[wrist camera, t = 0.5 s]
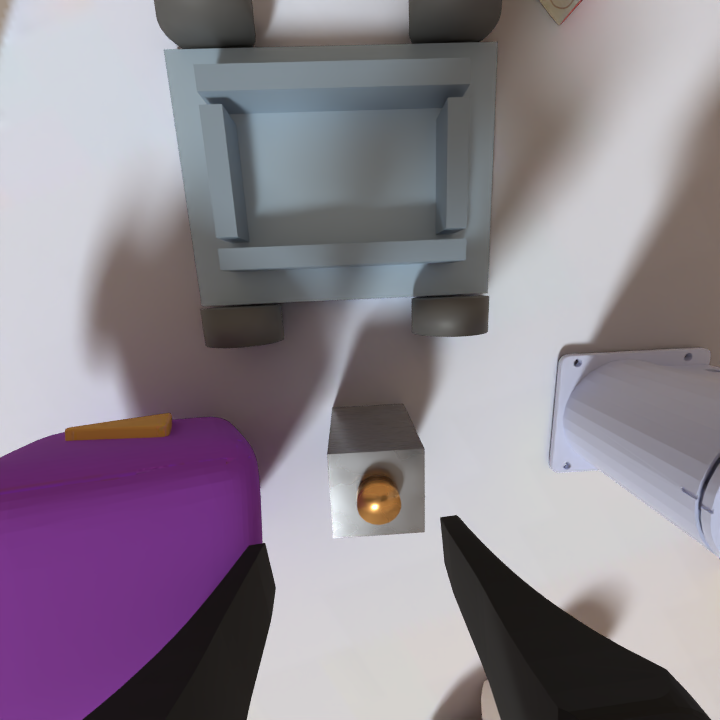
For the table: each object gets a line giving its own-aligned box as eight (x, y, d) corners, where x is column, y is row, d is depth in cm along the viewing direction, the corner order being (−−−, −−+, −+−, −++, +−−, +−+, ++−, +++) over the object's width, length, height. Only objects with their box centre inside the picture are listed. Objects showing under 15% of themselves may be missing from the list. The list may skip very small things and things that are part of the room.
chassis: (490, 11, 17) (534, -73, 13) (479, 324, 20) (511, 333, 16) (167, 17, 16) (111, -68, 12) (213, 337, 20) (181, 350, 16)
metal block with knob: (402, 403, 21) (428, 457, 15) (403, 466, 22) (428, 544, 16) (332, 407, 21) (326, 463, 14) (336, 471, 22) (332, 551, 15)
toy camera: (-108, 464, 14) (-565, 612, 6) (221, 383, 21) (249, 393, 12) (-32, 684, 15) (-321, 1109, 7) (261, 542, 22) (315, 660, 13)
